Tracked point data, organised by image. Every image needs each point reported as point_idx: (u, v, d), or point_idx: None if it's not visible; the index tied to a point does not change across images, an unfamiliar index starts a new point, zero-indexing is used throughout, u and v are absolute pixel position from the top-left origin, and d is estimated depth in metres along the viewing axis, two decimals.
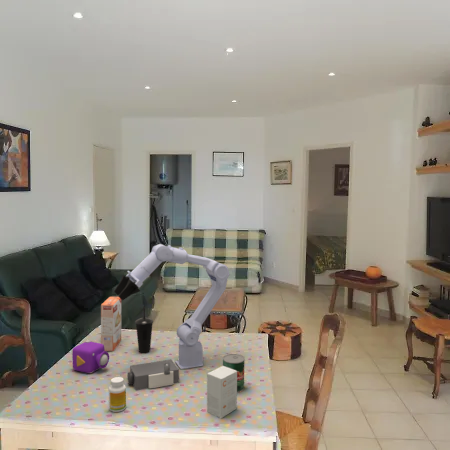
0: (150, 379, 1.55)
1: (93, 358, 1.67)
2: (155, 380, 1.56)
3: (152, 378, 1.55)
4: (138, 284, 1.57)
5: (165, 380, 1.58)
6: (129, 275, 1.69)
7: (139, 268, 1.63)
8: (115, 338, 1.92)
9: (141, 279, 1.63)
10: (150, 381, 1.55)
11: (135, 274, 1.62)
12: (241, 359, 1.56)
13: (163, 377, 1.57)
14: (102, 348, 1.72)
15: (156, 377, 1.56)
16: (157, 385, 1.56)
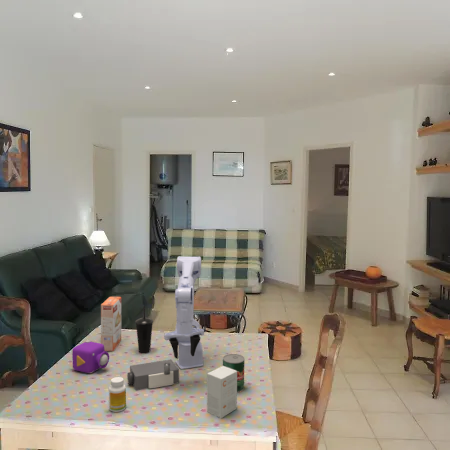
0: (150, 379, 1.55)
1: (93, 358, 1.67)
2: (155, 380, 1.56)
3: (152, 378, 1.55)
4: None
5: (165, 380, 1.58)
6: (168, 336, 1.55)
7: (190, 324, 1.57)
8: (115, 338, 1.92)
9: None
10: (150, 381, 1.55)
11: (191, 330, 1.57)
12: (241, 359, 1.56)
13: (163, 377, 1.57)
14: (102, 348, 1.72)
15: (156, 377, 1.56)
16: (157, 385, 1.56)
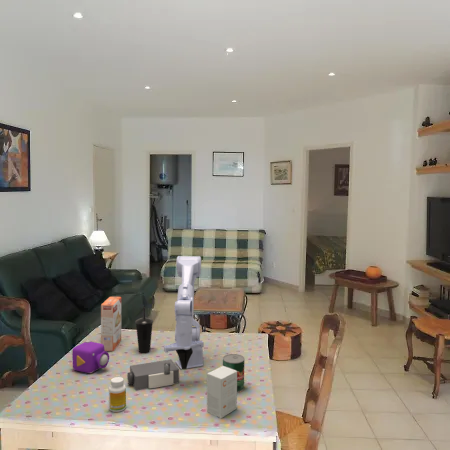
0: (150, 379, 1.55)
1: (93, 358, 1.67)
2: (155, 380, 1.56)
3: (152, 378, 1.55)
4: None
5: (165, 380, 1.58)
6: None
7: (190, 336, 1.57)
8: (115, 338, 1.92)
9: None
10: (150, 381, 1.55)
11: (191, 343, 1.58)
12: (241, 359, 1.56)
13: (163, 377, 1.57)
14: (102, 348, 1.72)
15: (156, 377, 1.56)
16: (157, 385, 1.56)
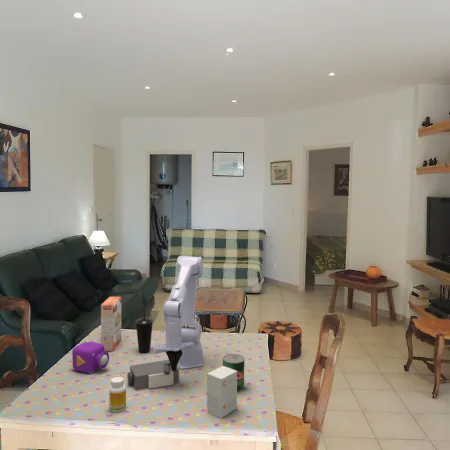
0: (150, 379, 1.55)
1: (93, 358, 1.67)
2: (155, 380, 1.56)
3: (152, 378, 1.55)
4: None
5: (165, 380, 1.57)
6: None
7: (180, 338, 1.55)
8: (115, 338, 1.92)
9: None
10: (150, 381, 1.55)
11: (181, 344, 1.56)
12: (241, 359, 1.56)
13: (163, 377, 1.57)
14: (102, 348, 1.72)
15: (156, 377, 1.56)
16: (157, 385, 1.56)
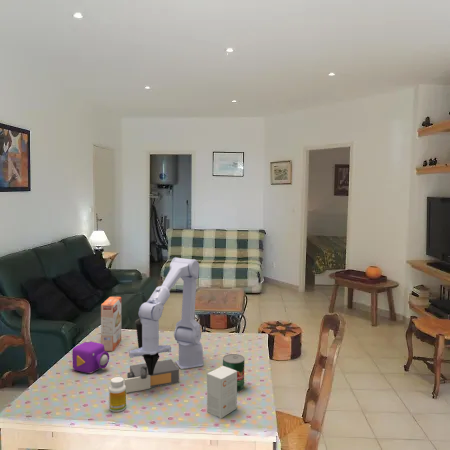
0: (126, 383, 1.52)
1: (93, 358, 1.67)
2: (131, 384, 1.53)
3: (128, 382, 1.52)
4: None
5: (142, 384, 1.54)
6: (133, 354, 1.51)
7: (156, 341, 1.52)
8: (115, 338, 1.92)
9: None
10: (126, 385, 1.52)
11: (157, 347, 1.53)
12: (241, 359, 1.56)
13: (140, 381, 1.54)
14: (102, 348, 1.72)
15: (132, 381, 1.53)
16: (133, 389, 1.53)
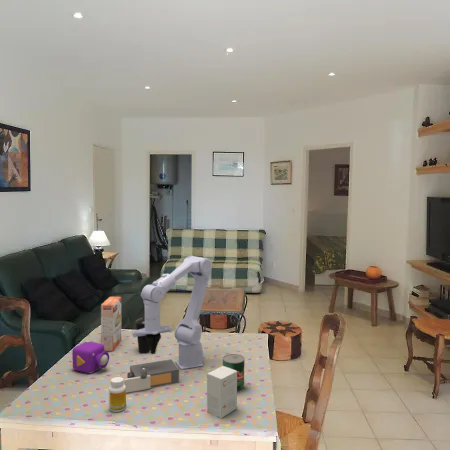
0: (126, 383, 1.52)
1: (93, 358, 1.67)
2: (131, 384, 1.53)
3: (128, 382, 1.52)
4: None
5: (142, 384, 1.54)
6: (136, 334, 1.58)
7: (158, 321, 1.59)
8: (115, 338, 1.92)
9: None
10: (126, 385, 1.52)
11: (159, 328, 1.60)
12: (241, 359, 1.56)
13: (140, 381, 1.54)
14: (102, 348, 1.72)
15: (132, 381, 1.53)
16: (133, 389, 1.53)
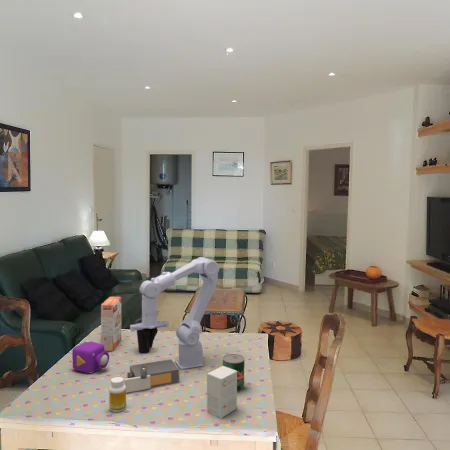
0: (126, 383, 1.52)
1: (93, 358, 1.67)
2: (131, 384, 1.53)
3: (128, 382, 1.52)
4: None
5: (142, 384, 1.54)
6: None
7: (155, 316, 1.65)
8: (115, 338, 1.92)
9: None
10: (126, 385, 1.52)
11: (156, 322, 1.66)
12: (241, 359, 1.56)
13: (140, 381, 1.54)
14: (102, 348, 1.72)
15: (132, 381, 1.53)
16: (133, 389, 1.53)
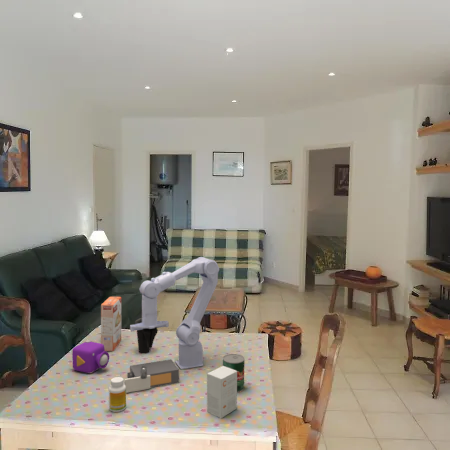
0: (126, 383, 1.52)
1: (93, 358, 1.67)
2: (131, 384, 1.53)
3: (128, 382, 1.52)
4: None
5: (142, 384, 1.54)
6: None
7: (155, 316, 1.65)
8: (115, 338, 1.92)
9: None
10: (126, 385, 1.52)
11: (156, 322, 1.66)
12: (241, 359, 1.56)
13: (140, 381, 1.54)
14: (102, 348, 1.72)
15: (132, 381, 1.53)
16: (133, 389, 1.53)
